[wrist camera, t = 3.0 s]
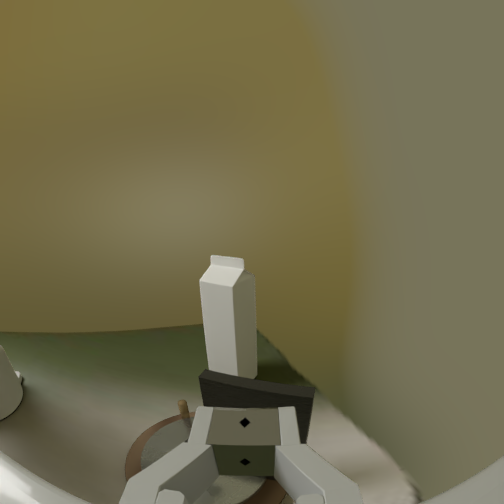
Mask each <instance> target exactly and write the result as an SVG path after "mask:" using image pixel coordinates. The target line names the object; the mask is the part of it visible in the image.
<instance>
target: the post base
mask: <svg viewBox="0 0 504 504" xmlns="http://www.w3.org/2000/svg"><path fill="white" fill-rule="evenodd" d="M178 406H179V410H180V413H181V414H180V415H177V416H173V417H170V418H168V419H165V420H163V421H161V422H159V423H157V424H155V425H153V426H152V427H150V428H149V429H147V430H146V431H145V432H143V433H142V434H141V435H140V436H139V437H138V438H137V440H136V441H135V442H134V444H133V445H132V447H131V449H130V450H129V453H128V455H127V458H126V464H125V475H126V480H127V482H128V480H129V479H130V478H131V477H133V476H135V475H136V474H138V473H139V472H141V471H142V469H141V455H142V451H143V448H144V446H145V444H146V443H147V441H148V440H149V439H150V437H151V436H152V435H153V434H154V433H155V432H157V431H158V430H159V429H161V428H162V427H164V426H166V425H168V424H170V423H172V422H175V421H178V420H181V419H185V418H190V417H195V413H196V412H191V413H189V410H188V406H187V402H186V401H185V400H180V401H178ZM285 495H286V491H285V490H284V489H283V487H282V486H281V485H280V484H279V483H278V481H274V480H269V479H266V481H265V483H264V485H263V487H262V488H261V489H260V491H259V492H258V493H257V494H256V495H255V496H254V497H253V498H251V499H250V500H248V501H247V502H245V503H244V504H280V503H281V501H282V500H283V498H284V496H285Z"/></svg>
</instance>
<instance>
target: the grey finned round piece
mask: <svg viewBox="0 0 504 504" xmlns="http://www.w3.org/2000/svg"><path fill="white" fill-rule="evenodd" d="M199 382H200V388H201V394H202V399H203V404H204V406H205V407H222V408H245V409H246V408H275V407H277V408H278V407H291V406H294V407H295V410H296V416H297V422H298V429H299V435H300V442H301V444H306V443H307V438H308V432H309V426H310V420H311V414H312V407H313V400H314V393H315V388H314V387H305V386H296V385H288V384H281V383H274V382H268V381H262V380H256V379H250V378H245V377H239V376H234V375H229V374H225V373H220V372H216V371H211V370H207V369H205V370H204V371H203V372H202V374H201V375H200V376H199ZM193 421H194V417H190V418H185V419H181V420H178V421H175V422H172V423H170V424H168V425H166V426H164V427H162V428H161V429H159V430H158V431H157V432H155V433H154V434H153V435H152V436H151V437H150V439H149V440H148V441H147V443H146V444H145V446H144V448H143V451H142V455H141V469H142V470H144V469H145V468H147V467H148V466H150V465H151V464H153V463H154V462H156V461H157V460H159V459H160V458H162V457H163V456H164V455H166V454H167V453H169V452H170V451H171V450H173V449H174V448H176V447H177V446H178V445H180V444H181V443H182V442H187V443H188V439H189V436H190V432H191V428H192V424H193ZM266 479H269V480H274V481H277V480H276V479H275V478H274V476H228V475H219V477H218V478H217V480H216V481H215V482H214V483H213V484H212V485H211V486H210V487H209V488H208V489H207V490H206V491H205V492H204V493H203V494H202V495H201V496H200V497H199V498H198V499H197V500H196V501H195V502H194V503H193V504H244V503H245V502H247V501H248V500H250V499H251V498H253V497H254V496H255V495H256V494H257V493H258V492H259V491H260V489H261V488H262V487H263V485H264V483H265V481H266Z"/></svg>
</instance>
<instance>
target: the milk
mask: <svg viewBox="0 0 504 504" xmlns="http://www.w3.org/2000/svg"><path fill="white" fill-rule="evenodd" d="M200 292H201V303H202V313H203V322H204V332H205V340H206V349H207V357H208V364H209V370H211V371H216V372H220V373H225V374H229V375H234V376H239V377H245V378H250V379H254V378H255V377H256V376H257V339H256V301H255V275H254V274H252V273H250V272H248V271H247V270H245V269H244V260H243V259H242V258H234V257H224V256H216V255H212V256H211V265H210V267H209V268H208V269H207V271H206V272H205V273H204V275H203V276H202V278H201V279H200Z"/></svg>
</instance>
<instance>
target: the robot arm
mask: <svg viewBox="0 0 504 504" xmlns="http://www.w3.org/2000/svg"><path fill="white" fill-rule="evenodd" d="M21 381H22V376H21V374H20V372H17V371H14V369H13V367H12V365H11V363H10V361H9V359H8V357H7V355H6V353H5V351H4V349H3V347H2V346H1V345H0V420H1V419H3V418H5V417H7V416H8V415H10V414H11V413H12V412H13V411H14V410H15V409H16V408H17V407H18V405H19V404H20V402H21V400H22V396H23V390H22V386H21ZM219 475H228V476H274V478H275V479H276V480H277V481H278V483H279V484H280V485H281V486H282V487H283V489H284V490H285V491H286V492H287V493H288V494H289V495H290V497H291V498H292V499H293V500H294V501H295V502H296V503H295V504H364V503H363V500H362V496H361V493H360V489H359V486H358V485H357V484H356V483H355V482H353V481H352V480H350V479H349V478H348V477H346V476H345V475H344V474H343V473H341V472H340V471H339V470H337V469H336V468H335V467H333V466H332V465H331V464H330V463H328V462H327V461H326V460H325V459H323V458H322V457H321V456H320V455H319V454H317V453H316V452H315V451H314V450H313V449H311V448H310V447H309V446H308V445H307V444H301V442H300V435H299V429H298V422H297V416H296V410H295V407H294V406H291V407H278V408H277V407H275V408H246V409H245V408H222V407H205V406H199V407H198V408H197V410H196V413H195V417H194V421H193V424H192V428H191V432H190V436H189V439H188V443H187V442H182V443H181V444H180V445H178V446H177V447H176V448H174V449H173V450H171V451H170V452H169V453H167V454H166V455H164V456H163V457H162V458H160V459H159V460H157V461H156V462H154V463H153V464H151V465H150V466H148V467H147V468H145V469H144V470H142V471H141V472H139V473H138V474H136V475H135V476H133V477H131V478H130V479H129V480H128V482H127V484H126V487H125V489H124V492H123V494H122V497H121V499H120V502H119V504H193V503H194V502H195V501H196V500H197V499H198V498H199V497H200V496H201V495H202V494H203V493H204V492H205V491H206V490H207V489H208V488H209V487H210V486H211V485H212V484H213V483H214V482H215V481H216V480H217V478H218V477H219ZM0 504H92V503H90V502H87V501H85V500H83V499H81V498H78V497H76V496H74V495H72V494H70V493H68V492H66V491H64V490H62V489H60V488H58V487H56V486H54V485H53V484H51V483H49V482H47V481H45V480H44V479H42V478H40V477H39V476H37V475H35V474H34V473H32V472H31V471H29V470H27V469H26V468H24V467H23V466H21V465H20V464H18V463H17V462H16V461H14V460H13V459H11V458H10V457H9V456H7V455H6V454H4V453H3V452H2V451H1V450H0ZM419 504H504V455H503V456H502V457H501V458H499V459H498V460H496V461H495V462H494V463H492V464H491V465H490V466H488V467H486V468H485V469H483V470H482V471H480V472H479V473H477V474H475V475H474V476H472V477H470V478H469V479H467V480H465V481H464V482H462V483H460V484H458V485H456V486H454V487H453V488H451V489H449V490H447V491H445V492H443V493H441V494H439V495H437V496H435V497H432V498H430V499H428V500H426V501H423V502H421V503H419Z"/></svg>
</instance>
